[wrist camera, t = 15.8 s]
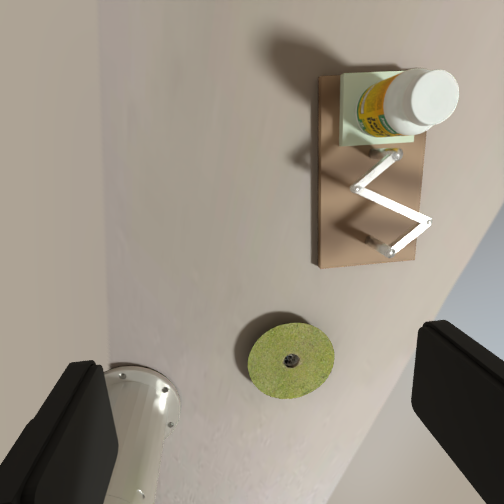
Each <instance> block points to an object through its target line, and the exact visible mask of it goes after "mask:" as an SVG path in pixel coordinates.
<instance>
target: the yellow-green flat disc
mask: <svg viewBox="0 0 504 504" xmlns="http://www.w3.org/2000/svg"><path fill="white" fill-rule="evenodd" d="M333 364H334V349H333V346H332V344H331V341H330V340H329V338H328V337H327V336H326V335H325V334H324V333H323V332H322V331H321V330H320V329H318V328H316V327H314V326H312V325H308V324H306V323H289V324H282V325H280V326H276V327H275V328H272V329H270V330H269V331H267V332H266V333H265V334H263V335H262V336H261V337H260V338H259V339H258V340H257V341H256V343H255V344H254V346H253V347H252V349H251V352H250V354H249V358H248V372H249V375H250V377H251V380H252V382H253V384H254V385H255V386H256V387H257V388H258V389H259V390H260V391H261V392H263V393H264V394H266V395H269V396H270V397H275V398H279V399H287V398H288V399H292V398H297V397H301V396H304V395H306V394H308V393H310V392H312V391H314V390H315V389H317V388H318V387H320V386H321V385H322V383H324V382H325V380H326V379H327V378H328V376H329V374H330V372H331V370H332V368H333Z"/></svg>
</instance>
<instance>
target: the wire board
mask: <svg viewBox="0 0 504 504" xmlns="http://www.w3.org/2000/svg"><path fill="white" fill-rule="evenodd" d="M339 122H340V75H330V76H320V77H319V80H318V267H319V268H320V269H324V268H335V267H345V266H356V265H366V264H376V263H387V262H397V261H408V260H415V251H416V240H417V236H416V237H415V238H414V239H413V240H411V241H410V242H409V243H408V244H406V245H405V246H404V247H403V248H401V249H400V250H399V251H398V252H396V254H395V256H394V257H393V258H387V257H385V256H384V255H382V254H381V253H379V252H377V251H376V250H374V249H373V248H371V247H369V246H368V245H366V244H365V238H366V237H368V236H373V237H374V238H376V239H378V240H380V241H382V242H384V243H386V244H387V245H389V244H391V243H392V242H393V241H394V240H396V239H397V238H398V237H399V236H401V235H402V234H403V233H404V232H405V231H407V230H408V229H409V228H410V227H412V226H413V225H414V224H415V223H417V221H415V220H413V219H411V218H408V217H406V216H404V215H402V214H400V213H398V212H395V211H393V210H391V209H389V208H387V207H384V206H382V205H380V204H378V203H376V202H373V201H371V200H369V199H367V198H365V197H362V196H360V195H358V194H356V193H352V192H351V191H350V186H351V184H353V183H354V182H355V181H356V180H357V179H359V178H360V177H361V176H362V175H363V174H365V173H366V172H367V171H368V170H369V169H370V168H372V167H373V166H374V165H375V164H376V163H378V162H379V161H380V160H375V159H371V158H370V157H369V151H370V150H371V149H372V148H400V149H402V151H403V157H402V158H401V160H399V161H395V162H394V163H393V164H392V165H390V166H389V167H388V168H387V169H386V170H384V171H383V172H382V173H381V174H380V175H378V176H377V177H376V178H375V179H374V180H372V181H371V182H370V183H369V184H368V185H366V186H365V187H364V188H366V189H368V190H371V191H373V192H375V193H377V194H379V195H381V196H383V197H386V198H388V199H390V200H392V201H394V202H396V203H399V204H401V205H403V206H405V207H407V208H409V209H411V210H414V211H416V212H418V213H419V208H420V197H421V186H422V175H423V164H424V153H425V142H426V131H425V132H423V133H420V134H417V135H414V142H406V143H390V144H373V145H357V146H339Z"/></svg>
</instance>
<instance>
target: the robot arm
mask: <svg viewBox="0 0 504 504" xmlns="http://www.w3.org/2000/svg"><path fill="white" fill-rule="evenodd" d="M411 403H412V407H413V410H414V412H415V413H416V414H417V416H418V417H419V418H420V420H421V421H422V422H423V424H424V425H425V426H426V427H427V429H428V430H429V431H430V432H431V434H432V435H433V436H434V437H435V439H436V440H437V441H438V443H439V444H440V445H441V446H442V448H443V449H444V450H445V451H446V453H447V454H448V455H449V456H450V458H451V459H452V460H453V462H454V463H455V464H456V466H457V467H458V468H459V469H460V471H461V472H462V473H463V474H464V475H465V477H466V478H467V480H468V481H469V482H470V483H471V485H472V486H473V487H474V488H475V490H476V491H477V492H478V493H479V495H480V496H481V497H482V499H483V500H484V501H485V502H486V504H504V361H503V360H501V359H500V358H499V357H497V356H496V355H494V354H493V353H492V352H490V351H489V350H487V349H486V348H485V347H483V346H482V345H480V344H479V343H478V342H476V341H475V340H473V339H472V338H471V337H469V336H468V335H466V334H465V333H464V332H462V331H461V330H459V329H458V328H457V327H455V326H454V325H453V324H451V323H450V322H448V321H446V320H438V321H429V322H425V323H424V324H423V327H421V328H420V329H419V330H418V338H417V348H416V358H415V368H414V377H413V387H412V398H411ZM180 410H181V403H180V397H179V394H178V392H177V390H176V388H175V387H174V385H173V384H172V383H171V382H170V381H169V380H168V379H167V378H166V377H165V376H163V375H161V374H160V373H158V372H156V371H154V370H151V369H148V368H144V367H138V366H123V367H118V368H113V369H110V370H108V371H106V372H103V368H102V366H101V365H96V364H95V362H94V361H93V360H89V361H80V362H72V363H70V364H69V365H68V366H67V368H66V369H65V371H64V373H63V374H62V376H61V377H60V379H59V380H58V382H57V383H56V385H55V386H54V388H53V390H52V391H51V393H50V394H49V396H48V397H47V399H46V400H45V402H44V403H43V405H42V407H41V408H40V410H39V411H38V413H37V415H36V416H35V417H34V419H32V420H31V421H30V422H29V423H28V424H27V425H26V427H25V428H24V430H23V431H22V433H21V435H20V436H19V438H18V439H17V441H16V442H15V444H14V445H13V447H12V448H11V450H10V451H9V453H8V454H7V456H6V457H5V459H4V460H3V462H2V463H1V465H0V504H154V502H155V496H156V489H157V483H158V476H159V470H160V463H161V457H162V450H163V444H164V440H165V439H166V438H167V437H168V436H169V435H170V434H171V433H172V432H173V430H174V429H175V428H176V425H177V423H178V421H179V417H180Z"/></svg>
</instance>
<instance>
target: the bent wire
mask: <svg viewBox="0 0 504 504" xmlns="http://www.w3.org/2000/svg"><path fill="white" fill-rule="evenodd" d="M369 157H370V158H371V159H375V160H380V161H379V162H378V163H376V164H375V165H374V166H373V167H372V168H370V169H369V170H368V171H367V172H366V173H365V174H363V175H362V176H361V177H360V178H359V179H357V180H356V181H355V182H354V183H353V184H351V186H350V191H351V192H352V193H356V194H358V195H360V196H362V197H365V198H367V199H369V200H371V201H373V202H376V203H378V204H380V205H382V206H384V207H387V208H389V209H391V210H393V211H395V212H398V213H400V214H402V215H404V216H406V217H408V218H411V219H413V220H415V221H417V223H415V224H414V225H413V226H412V227H410V228H409V229H408V230H407V231H405V232H404V233H403V234H402V235H401V236H399V237H398V238H397V239H396V240H394V241H393V242H392V243H391V244H389V245H387V244H386V243H384V242H382V241H380V240H378V239H376V238H374V237H373V236H368V237H366V238H365V244H366V245H368V246H369V247H371V248H373V249H374V250H376V251H377V252H379V253H381V254H382V255H384V256H385V257H387V258H393V257H394V256H395V254H396V252H398V251H399V250H400V249H401V248H403V247H404V246H405V245H406V244H408V243H409V242H410V241H411V240H413V239H414V238H415V237H416V236H418V235H419V234H420V233H421V232H423V231H424V230H425V229H426V228H428V227H429V226H430V225H431V223H432V219H431V218H430V217H427V216H424V215H422V214H420V213H418V212H416V211H414V210H411V209H409V208H407V207H405V206H403V205H401V204H399V203H396V202H394V201H392V200H390V199H388V198H386V197H383V196H381V195H379V194H377V193H375V192H373V191H371V190H368V189H366V188H364V187H365V186H366V185H368V184H369V183H370V182H371V181H372V180H374V179H375V178H376V177H377V176H378V175H380V174H381V173H382V172H383V171H384V170H386V169H387V168H388V167H389V166H390V165H392V164H393V163H394V162H395V161H399V160H401V158H402V157H403V151H402V149H400V148H372V149H371V150H370V151H369Z"/></svg>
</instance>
